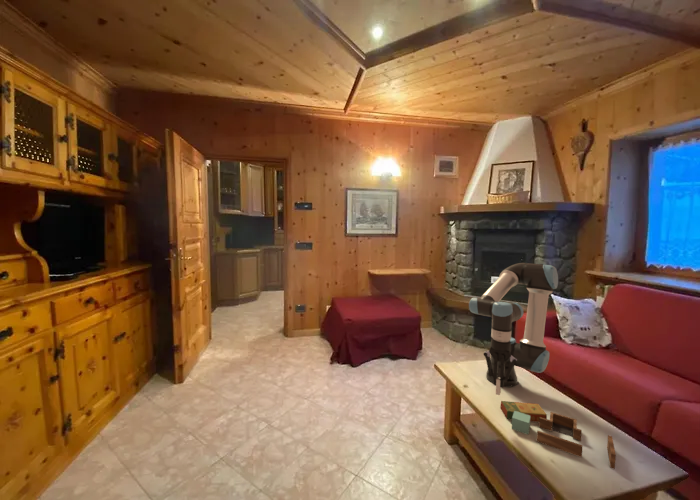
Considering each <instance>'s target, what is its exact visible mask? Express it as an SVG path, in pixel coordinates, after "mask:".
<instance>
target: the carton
mask: <svg viewBox="0 0 700 500" xmlns="http://www.w3.org/2000/svg"><path fill="white" fill-rule="evenodd" d="M499 408H500V410H501V412H502V413H503V415H504V417H505V418H506V420H511V421H512V417H513V414H514V411H517V412H520V413H523V414H527V415H530V416H531V418H530V422H534V423H535V422H536V423H539V418H540V417H542V418H545V419H547V418H548V417H547V415H548V414H547V412H545V410H544V409H543V408H542V407H541V406H540V404H539V403H529V402H519V401H518V402H517V401H506V400H501V402H500V407H499Z"/></svg>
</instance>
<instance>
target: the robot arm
mask: <svg viewBox="0 0 700 500" xmlns="http://www.w3.org/2000/svg"><path fill="white" fill-rule="evenodd" d="M517 285H525V286H526V289H527V291H528V302H527V309H526V318H525V326H524V334H523V337H522V338H521V339H519V342H517V340H516V339H515V338H514V337H512V328H513V327H512V326H513V325H512V324H513V323H514V322H516V321H519V320H520V319H521V318H523V315H524V314H525V313H524V308H523V306H522V305H520V304H519V303H516V302H507V301H505V302H504V301H501V300H502V299H503V297H504V298H505V295H506V294H508V292H509V291H510V289H512V288H513V287H515V286H517ZM558 285H559V275H558V270H557V268H556V267H555V266H553V265H549V264H544V263H527V262H519V263H515V264H512V265H510V266H508V267H506V268H504V269H503V270H502V271H501V272H500V274H499V277H498V278H497V279H496V280H495V281H494V283H493V284H491V286H489V288H488V289H487V290H486V291H485V292H484V293H483V294H482V295H481V296H479V297H472V298H471V299H470V300H469V303H468V309H469V311H470V312H471V313H472V314H475V315H480V316H483V317H490V318H491V331H490V332H491V334H490V337H491V339H490V348H489V350H485V351H484V352H483V356H484V358H485V361H486V366H487V371H486V374H485V377H486V380H488V381H489V382H491V383H492V384H493V386H494V387H495V395H496V396H500V395H501V391H502V389H503V388H504V387H515V386H516V385H518V376H517V372H516V369H515V367H518V368H522V369H525V370H527V371H530V372H534V373H539V374H541V373H544V372H545V370H546V368H547V366H548V364H549V361H550V351H548V350H547V346H546V344H545V343H544V336H545V327H546V319H547V312H548V304H549V303H548V302H549V296H550V295H551V294H552V293H553V291H554V290H556V289H557V288H558Z"/></svg>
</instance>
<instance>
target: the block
mask: <svg viewBox="0 0 700 500" xmlns="http://www.w3.org/2000/svg"><path fill="white" fill-rule="evenodd" d="M530 418H531V416H530V415H527V414H523V413H520V412H517V411H514V414H513V417H512V420H511V429H512V430H514V431H516V432H518V433H522V434H526V435H529V434H530V428H531V421H530Z"/></svg>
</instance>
